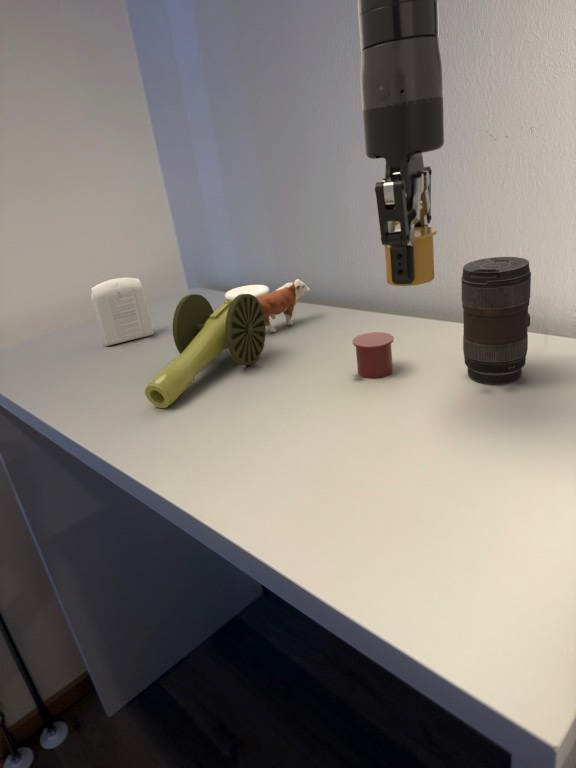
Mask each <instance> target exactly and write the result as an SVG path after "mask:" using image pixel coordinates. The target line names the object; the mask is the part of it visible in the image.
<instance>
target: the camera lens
mask: <svg viewBox="0 0 576 768" xmlns="http://www.w3.org/2000/svg"><path fill="white" fill-rule="evenodd" d="M461 275H462V276H461V279H460V280H461V306H462V312H463V314H462V315H463V336H462V352H463V358H464V365H465V366H466V367H467V375H468V377H469V378H470V379H471V380H472V381H474V382H478V383H480V384H485V385H506V384H511V383H514V382H516V381H518V380H520V378H521V376H522V368H524V366H525V365H526V360H527V353H528V345H529V344H528V343H529V341H528V340H529V335H528V328H529V327H530V326H531V315H530V313H529V306H530V301H531V300H530V299H531V286H532V285H531V284H532V283H531V282H532V272H531V269H530V261H529V260H528V259H526V258H524V257H517V256H495V257H486V258H480V259H476V260H473V261H470V262H467V263H465V264H464V265H463V267H462V274H461Z"/></svg>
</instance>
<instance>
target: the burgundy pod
mask: <svg viewBox="0 0 576 768" xmlns="http://www.w3.org/2000/svg"><path fill="white" fill-rule="evenodd" d="M394 340H395V339H394V335H392V334H391V333H388V332H383V331H382V332H380V331H375V332H366V333H362V334H359V335H356V336H355V337H353V338H352V340H351V341H352V345H353V346H354V347H355V353H356V366H357V374H358V375H359V376H360V377H362V378H366V379H381V378H385V377H388V376H390V375H391V374H392V373H393V371H394V370H393V353H392V352H393V351H392V343H394Z"/></svg>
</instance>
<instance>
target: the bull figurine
mask: <svg viewBox="0 0 576 768" xmlns="http://www.w3.org/2000/svg"><path fill="white" fill-rule="evenodd" d="M310 293H311V288H309V287H308V285H306V283H305V282H303V281H301V279H299V278H298V279H295V280H293V282H287V283H284V285H282V286H280V287H278V288H276V289H275V290H274V291H271V292H269V293H268V294H265V295H261V296H258V297H256V298H257V300H258V301H259V302H260V304H261V306H262V309H263V312H264V317H265V324H266V328H267V329H268V332H270V333H277V332H278V330H277V329H276V328H275V327H274V326H273V325H272V323H271V322H270V317H271V318H272V319H273V320H275V319H276V316H278V315H280V314H282V313H283V315H284V317H285V322H286V323H287V325H289V326H294V325H295V323H294V322H293V320H292V317H293V312H294V310H295V306H296V305H297V303H298V301H299V299H300V298H302V297H303V296H304V295H305V294H307V295H308V294H310Z"/></svg>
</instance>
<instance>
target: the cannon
mask: <svg viewBox="0 0 576 768" xmlns="http://www.w3.org/2000/svg"><path fill="white" fill-rule="evenodd" d="M266 333H267V326H266V324H265V317H264V312H263V309H262V306H261V304H260V302H259V301H258V300H257V298H256V297H254V296H253V295H251V294H240V295H238V296H237V297H235V298H234V300H233V301H232V300H229V299H227V300H226V299H225V300H224V302H223V303H222V304H221V305H220V306H219V307H218V308H217V309H215V310H214V309H213V307H212V305H211V303H210V301H209V300H208V299H207V298H206V297H205V296H203V295H201V294H197V293H196V294H195V293H194V294H193V293H192V294H187V295H185V296H184V297H182V298H181V299H180V301H179V302H178V304H177V305H176V307H175V310H174V313H173V318H172V336H173V342H174V344H175V347H176V350H177V351H178V353H179V355H178V356H177V357H176V358H173V359H172V360H171V361H170V362H169V363H168V364H167V365H166V366H165V367H164V368H163V369H161V371H160V372H158V373H157V374H156V376H154V378H152V379H151V381H149V382H148V383H147V386H146V387H145V389H144V391H145V392H144V394H145V397H146V398H147V400H148V401H149V402H150V403H151V404H152V405H153V406H155V407H157V408H160V409H167V408H168V407H169V406H171V405H172V404H174V402H175V401H177V400H178V398H179V397H180V396H181V395H182V394H183V393H184V391H186V389H187V388H188V387H189V386H190V385H191V384H192V383H193V382H194V380H195V378H196V377H197V375H198V374H199V373H200V372H202V371H203V370H204V369H205V368H206V367H207V366H208V365H209V364H210V363H212V361H213V360H215V359H216V358H217V357H218V356H219V355H220V354H222V352H224V351H225V350H227V349H228V352H229V354H230V356H231V358H232V359H233V360H234V361H235V363H237V364H238V365H241V366H252V365H253V364H255V363H256V362H257V361H258V360H259V359H260V357H261V354H262V352H263V350H264V346H265V342H266Z"/></svg>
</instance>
